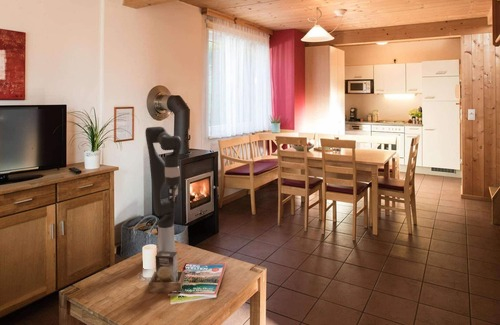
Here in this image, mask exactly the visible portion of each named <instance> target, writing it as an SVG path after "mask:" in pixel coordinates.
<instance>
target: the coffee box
mask: <svg viewBox="0 0 500 325" xmlns="http://www.w3.org/2000/svg"><path fill="white" fill-rule="evenodd" d="M178 268H179V267H178V252H177V251H175V252H169V251H159V252H158V251H157V254H156V255H155V272H156V278H157V282H178V270H179V269H178Z"/></svg>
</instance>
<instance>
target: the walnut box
mask: <svg viewBox="0 0 500 325" xmlns="http://www.w3.org/2000/svg"><path fill="white" fill-rule="evenodd" d="M185 278H186V274H185V270H182V271H181V270H179V271H178V279H180V280H179V282H157V278H156V271H154V272H153V274H152V277H151V278H150V279H149V280H150V281H149V282H148V293H149V294H171V293H170V292H172V291H181V289H182V290H183V288H182V286H183V287H184V285H183V282H184V279H185ZM185 280H186V279H185ZM184 283H185V282H184ZM181 292H182V291H181Z"/></svg>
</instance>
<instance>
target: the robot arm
mask: <svg viewBox="0 0 500 325" xmlns="http://www.w3.org/2000/svg"><path fill="white" fill-rule="evenodd" d="M144 133H145V134H144V135H145V141H146V146H147V152H148V158H149V160H148V161H149V169H150V170H149V171H150V177H151V183H152V184H151V185H152V194H153V195H152V197H153V198H152V199H153V211H154V213H155V215H156V216H157V217H161V216H163V217H161V218H160V219H159V220H158V221H157V230H158V233H157V234H158V237H157V238H156V240H157V253H158V252H159V251H169V252H176V242H175V241H176V240H175V236H176V235H175V207H176V206H175V205H176V204H178V200H179V199H178V196H179V185H180V184H181V172H180V171H181V170H180V161H179V159H180V152H181V149H182V138H181V137H180V136H179V135H171V134H169V133H168V131H167V130H166V129H165V128H164V127H162V126H152V127H151V126H150V127H149V126H147V127H146V128H145V132H144ZM154 144H159V145H160V148H161V150H163V151H172V153H169V154H167V155H165V156H164V159H163V158H162V157H161V156H160V155H159V153H158V152H157V150H156V148H155V146H154ZM165 185H166V186H169V188H168V189H167V197H166V198H162V190H163V188H164V186H165Z"/></svg>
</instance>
